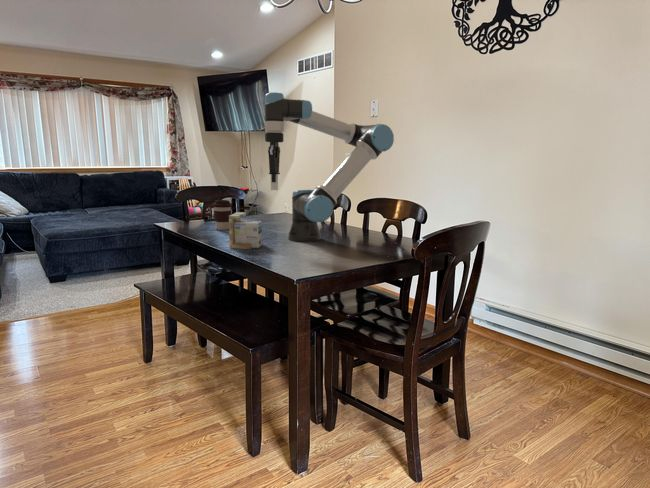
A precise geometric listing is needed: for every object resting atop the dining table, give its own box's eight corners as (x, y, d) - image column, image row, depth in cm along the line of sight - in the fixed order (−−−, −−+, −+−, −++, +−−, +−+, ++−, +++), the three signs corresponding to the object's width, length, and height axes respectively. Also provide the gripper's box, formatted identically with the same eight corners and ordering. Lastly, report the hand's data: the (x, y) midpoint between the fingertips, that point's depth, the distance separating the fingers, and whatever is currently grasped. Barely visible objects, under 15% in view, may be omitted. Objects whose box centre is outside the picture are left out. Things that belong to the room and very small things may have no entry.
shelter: (237, 242, 203) (237, 212, 201) (257, 243, 202) (257, 212, 200) (229, 247, 192) (228, 215, 189) (250, 248, 191) (250, 216, 188)
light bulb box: (262, 245, 199) (262, 220, 197) (258, 248, 193) (258, 223, 190) (238, 244, 200) (238, 219, 198) (234, 247, 193) (233, 222, 191)
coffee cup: (209, 228, 238) (208, 200, 235) (226, 226, 245) (225, 199, 242) (219, 231, 231) (218, 201, 228) (236, 229, 237) (235, 200, 234)
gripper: (268, 132, 193) (269, 188, 198) (261, 131, 180) (261, 191, 185) (286, 133, 192) (286, 189, 197) (280, 131, 179) (280, 191, 184)
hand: (274, 189), depth 191 cm, fingers closed
